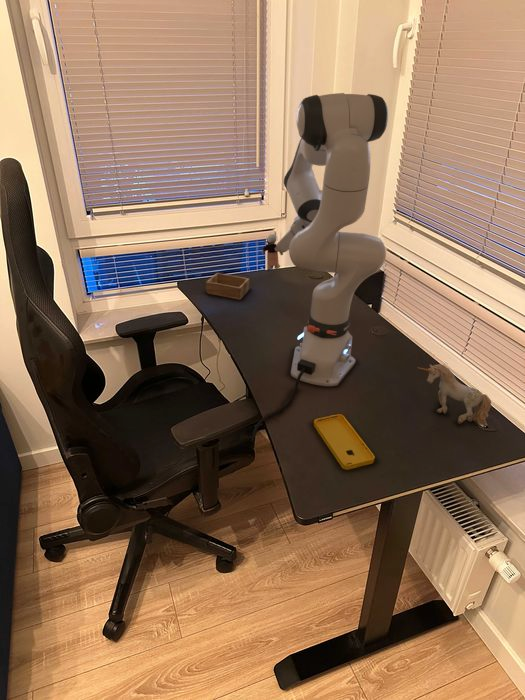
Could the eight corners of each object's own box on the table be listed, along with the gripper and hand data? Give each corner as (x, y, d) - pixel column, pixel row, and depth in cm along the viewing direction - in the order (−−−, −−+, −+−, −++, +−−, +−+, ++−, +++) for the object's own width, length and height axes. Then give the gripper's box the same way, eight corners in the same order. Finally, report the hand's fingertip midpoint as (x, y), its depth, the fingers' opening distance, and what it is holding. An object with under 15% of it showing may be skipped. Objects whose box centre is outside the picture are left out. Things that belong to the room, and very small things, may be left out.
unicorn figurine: (413, 395, 138) (423, 354, 131) (488, 417, 131) (502, 375, 124) (407, 409, 132) (417, 367, 125) (484, 433, 125) (500, 390, 118)
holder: (240, 299, 184) (240, 288, 182) (206, 293, 188) (206, 282, 185) (249, 289, 192) (249, 278, 190) (216, 283, 196) (216, 272, 193)
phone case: (341, 417, 129) (341, 413, 128) (375, 462, 115) (376, 458, 114) (312, 423, 126) (312, 419, 125) (344, 470, 113) (344, 466, 112)
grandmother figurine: (282, 264, 184) (282, 231, 177) (283, 269, 181) (283, 236, 174) (261, 265, 184) (260, 232, 176) (262, 270, 181) (261, 237, 173)
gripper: (308, 210, 178) (281, 233, 185) (292, 226, 161) (262, 250, 169) (319, 224, 179) (291, 246, 187) (304, 241, 162) (274, 265, 170)
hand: (277, 248), depth 178 cm, fingers closed on grandmother figurine, 2 cm apart
